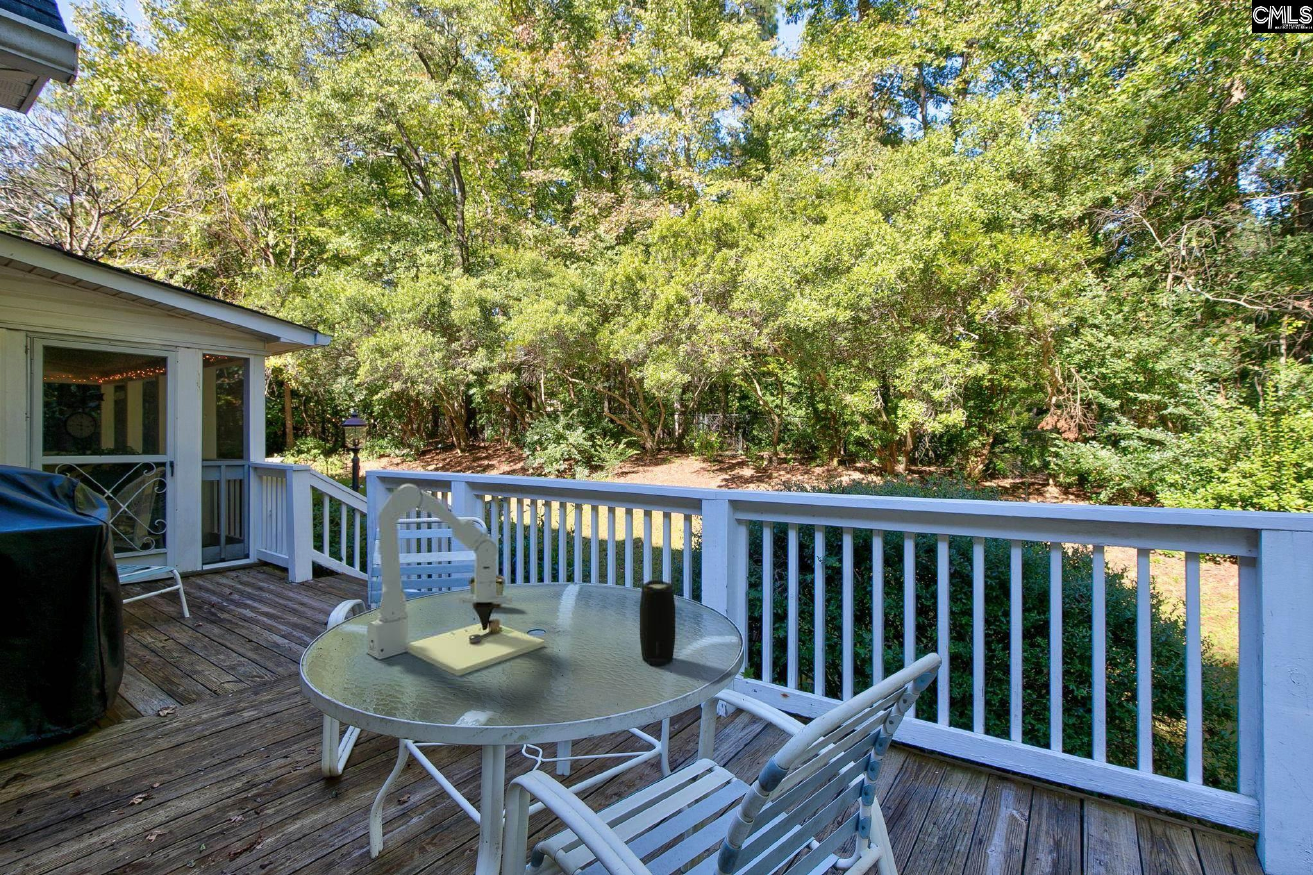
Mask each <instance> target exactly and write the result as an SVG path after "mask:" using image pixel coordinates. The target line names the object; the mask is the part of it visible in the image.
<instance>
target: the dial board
mask: <svg viewBox="0 0 1313 875" xmlns="http://www.w3.org/2000/svg"><path fill="white" fill-rule="evenodd" d="M500 627H502V629H501V630H500V632H499V633H497V634H491V635H489V636H487V637H485V638H483V639H481V642H479V643H469V636H471V635H475V634H479V635H483V634H485V633H488V632H489V623H488V628H487V629H486V630H483V629H482V624H481V622H480V623H477V624H473V625H469V626H466V627H465V626H464V627H463V628H459V629H455V630H452V631H449V632H448V631H447V632H445V633H442V634H441V633H440V634H438V635H437V634H436V635H434V636H430V637H427V638H423V639H420V640H416V641H412V642H408V644H407V645H406V649H407V650H408V651H407V652H406V653H409V654H411V655H413V656H415V657H416V658H419V659H421V660H424V661H425V662H427V663H430V664H432V665H433V666H436V667H438V668H439V669H441V670H444V671H446V672H449V673H451V674H453V675H455V676H456V677H459V676H462V675H464V674H467V673H471V672H474V671H476V670H479V669H482V668H485V667H489V666H491V665H493V664H494V665H495V664H497V663H500V662H502V661H505V660H508V659H511V658H514V657H517V656H519V655H522V654H525V653H529V652H531V651H535V650H536V649H539V648H543V647H545V640H544V639H540V638H538V637H535V636H532V635H529V634H526V633H525V632H524V633H523V632H521V631H519V630H515V629H512V628H510V627H507V626H504V625H502V624H500Z"/></svg>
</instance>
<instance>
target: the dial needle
mask: <svg viewBox="0 0 1313 875" xmlns="http://www.w3.org/2000/svg"><path fill="white" fill-rule="evenodd" d="M500 622H501V620H500V619H498V618H495V619H489V632H488V633H485V634H483V635H479V634H475V635H471V636H469V643H479V642H481V639H483V638H485V637H487V636H489V635H491V634H497V633H499V632H500V630H501V629H502V627H500V625H501V624H500Z"/></svg>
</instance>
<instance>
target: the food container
mask: <svg viewBox="0 0 1313 875" xmlns="http://www.w3.org/2000/svg"><path fill="white" fill-rule="evenodd" d="M506 584H507V583H506V578H505V577H504V576H503V575H500V574H499V575H498V574H496V594H497V595H503V594H504V586H506ZM468 585H470V595H473V594H475V576H473V577H470V578H469V580H468ZM471 604H472V610H475V608H474V607H475V606H476V603H471ZM502 605H503V604H496V605H495V607H494V609H493V611H494V610H502Z"/></svg>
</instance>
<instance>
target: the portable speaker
mask: <svg viewBox="0 0 1313 875" xmlns="http://www.w3.org/2000/svg"><path fill="white" fill-rule="evenodd" d="M673 586H674V584H673V583H671V582H667V581H664V580H661V579H650V580H649V581H647V582H645V583H642V587H641V594H640V600H639V641H640V642H639V643H640V652H641V659H642V661H646V662H647V663H648V665H649V666H651V667H662V665H664V666H665V664H666V663H668V662H669V661H670V660H671V661H673V659H674V652H675V644H676V602H675V595H674V594H675V593H674V589H673V588H674V587H673Z"/></svg>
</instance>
